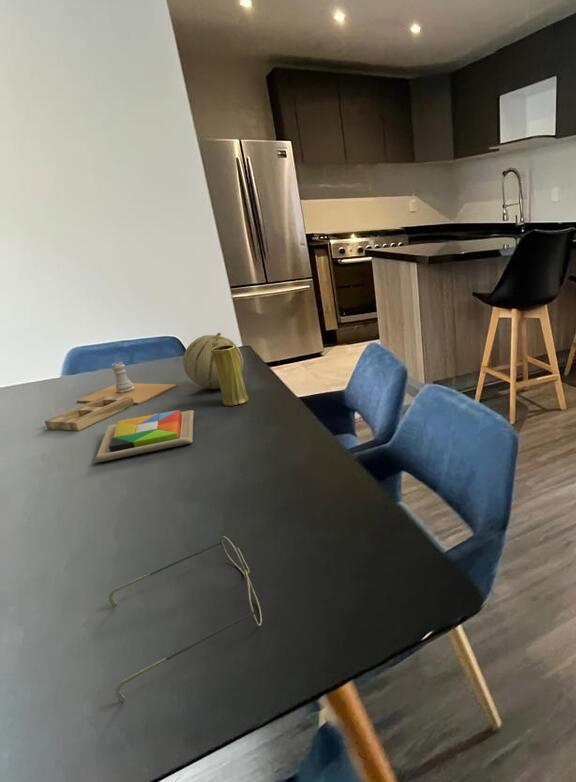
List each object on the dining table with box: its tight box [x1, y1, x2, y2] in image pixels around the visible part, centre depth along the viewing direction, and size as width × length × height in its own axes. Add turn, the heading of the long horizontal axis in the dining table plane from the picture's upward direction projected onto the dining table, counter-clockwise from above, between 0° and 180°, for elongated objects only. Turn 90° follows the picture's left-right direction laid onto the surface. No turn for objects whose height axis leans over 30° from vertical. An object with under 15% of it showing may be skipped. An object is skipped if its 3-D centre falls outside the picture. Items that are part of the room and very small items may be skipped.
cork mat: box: [76, 382, 178, 405], centre depth 136 cm, size 20×14×1 cm
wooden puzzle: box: [93, 409, 195, 464], centre depth 106 cm, size 18×19×4 cm
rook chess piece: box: [110, 361, 135, 393], centre depth 135 cm, size 4×4×8 cm
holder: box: [44, 396, 135, 432], centre depth 121 cm, size 9×16×2 cm, turn 167°
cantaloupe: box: [182, 332, 244, 390], centre depth 134 cm, size 15×15×15 cm
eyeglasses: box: [108, 535, 263, 704], centre depth 57 cm, size 16×15×5 cm
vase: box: [212, 345, 250, 407], centre depth 122 cm, size 6×6×14 cm
